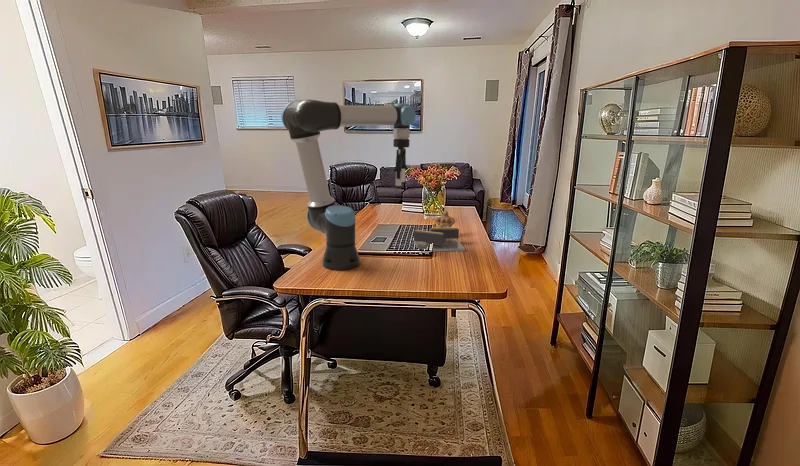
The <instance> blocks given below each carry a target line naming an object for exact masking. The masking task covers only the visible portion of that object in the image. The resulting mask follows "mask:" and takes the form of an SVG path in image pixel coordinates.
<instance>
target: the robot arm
mask: <svg viewBox="0 0 800 466" xmlns="http://www.w3.org/2000/svg"><path fill="white" fill-rule="evenodd" d="M415 120H416V111H415V109H414V108H413V107H412V106H411V105H410V104H408V103H394V105H393V106H391V105H345V104H344V105H342V104H341V105H340V104H339V103H338V102H335V101H334V102H333V101H331V102H329V101H323V100H316V99H301V100H300V99H299V100H298V99H297V100H293V101H290V102H288V103H287V104H286V105H285V106H284V107H283V109H282V111H281V122H282V124H283V126H284V127H285V129H287V130H288V133H289V138H290V140H291V141H292V142H294V143H295V145H296V149H297V150H296V151H297V153H298V156H299V157H298V158H299V162H300V166H301V169H302V170H301V171H302V173H303V177H304V178H303V179H304V182H305V185H306V186H305V187H306V190H307V194H308V198H309V201H308V202H307V203H306V205H307V208H308V209H307V210H306V221H307V222H308V224H309V226H310V227H312V229H314V230H316V231H318V232H321V233H322V234H324V235H325V236H326V238H325V240H326V242H325V243H326V245H325V249H324V250H325V251H324V254H323V255H322V256H323V257H322V266H323V267H324V268H325V269H329V270H334V271H344V270H345V271H346V270H350V269H352V270H353V269H354V268H357V267H358V266H359V265H360V264H361V263H360V260H361V259H360V255H359V252H358V250H357V247H356V215H355V214H356V213H355V210H354V209H353V208H351V207H349V206H347V205H339V204H337V203H336V199H335V198H334V197H333V196H331V194H330V190H329V185H328V181H327V180H328V179H327V176H326V171H325V167H324V163H323V158H322V154H321V148H320V144H319V137H320V135H321V132H323V131H331V130H339V129H340V127H360V126H361V127H363V126H364V127H371V126H372V127H373V126H393V137H392V138H394V139H393V145H392V146H393V147H394V148H397V149H396V157H395V168H394V169H393V172H394V173H395V183H394V184H395V187H398V186H399V187H402V183H405V182H406V169H407V168H408V166H407V164H406V163H407V162H406V157H407V156H406V154H407V151H406V148H409V147H410V134H411V133H412V131H411V130H410V128H411V125H413V124H414V122H415Z"/></svg>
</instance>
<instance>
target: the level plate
mask: <svg viewBox="0 0 800 466" xmlns="http://www.w3.org/2000/svg"><path fill="white" fill-rule="evenodd" d="M412 241H414V237H412ZM414 243H415V244H416V246H417V247H418V249H419V250H420V249H425V248H427V246H428V244H426V242H420V241H414V242H413V244H414ZM415 244H414V245H415ZM416 246H415V247H416ZM417 247H416V248H417ZM418 249H417V250H418ZM432 249H433V251H432V252H466V248H465V246H464V245H463V244H462V243H461V242H460V241H459V240H458V238H447V240H444V243H443V244H436V243H433V248H432Z"/></svg>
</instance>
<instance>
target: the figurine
mask: <svg viewBox="0 0 800 466" xmlns="http://www.w3.org/2000/svg"><path fill="white" fill-rule="evenodd" d="M434 222H435V223H436V224H437V225H436V226H435V228H452V227H453V225H454V224H455V222H456V220H455V218H454V217H452V216H449V212H448V211H447V210H443V212H442V215H439V216H436V217H435V219H434Z"/></svg>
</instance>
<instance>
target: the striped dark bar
mask: <svg viewBox="0 0 800 466" xmlns="http://www.w3.org/2000/svg"><path fill="white" fill-rule="evenodd" d="M413 238H414V241H420V242H426V244H432V243H436V244H443V243H444V233H439V232H431V231H430V230H429V231H428V230H421V229H416V230H414V232H413Z"/></svg>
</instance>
